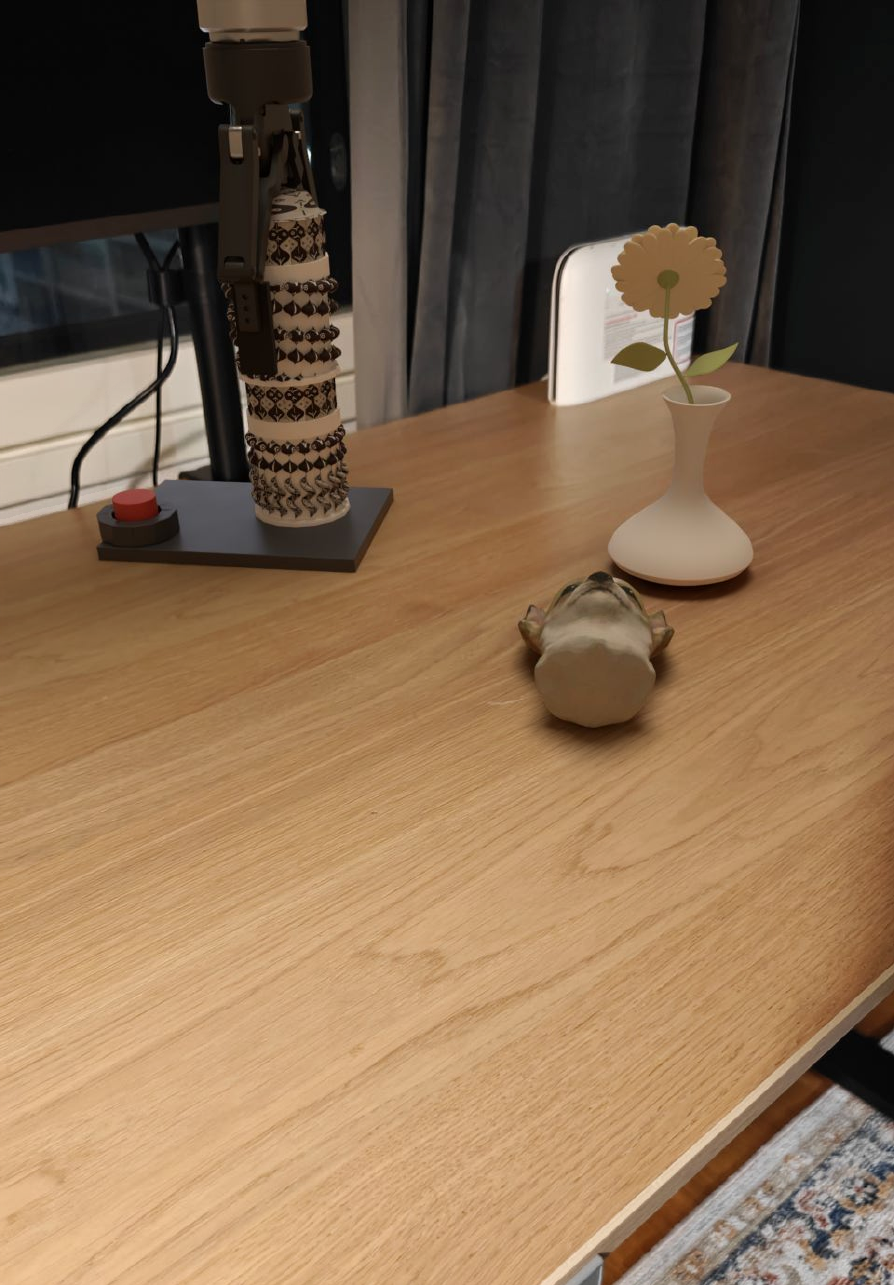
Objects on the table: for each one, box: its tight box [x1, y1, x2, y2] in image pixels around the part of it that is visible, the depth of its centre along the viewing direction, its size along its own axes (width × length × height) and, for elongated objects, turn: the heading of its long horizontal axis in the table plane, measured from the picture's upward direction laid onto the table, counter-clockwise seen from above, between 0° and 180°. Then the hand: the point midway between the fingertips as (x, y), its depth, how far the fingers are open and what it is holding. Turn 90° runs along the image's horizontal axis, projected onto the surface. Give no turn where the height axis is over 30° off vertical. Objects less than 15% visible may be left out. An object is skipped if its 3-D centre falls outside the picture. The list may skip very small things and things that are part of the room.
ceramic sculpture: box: [517, 570, 675, 729], centre depth 74 cm, size 11×9×15 cm
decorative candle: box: [220, 187, 351, 528], centre depth 93 cm, size 9×9×25 cm
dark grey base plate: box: [95, 479, 395, 574], centre depth 99 cm, size 23×16×3 cm
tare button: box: [111, 488, 159, 522], centre depth 95 cm, size 4×4×2 cm
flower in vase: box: [607, 222, 754, 587], centre depth 84 cm, size 13×11×25 cm
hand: (283, 351), depth 92 cm, fingers open, 13 cm apart
